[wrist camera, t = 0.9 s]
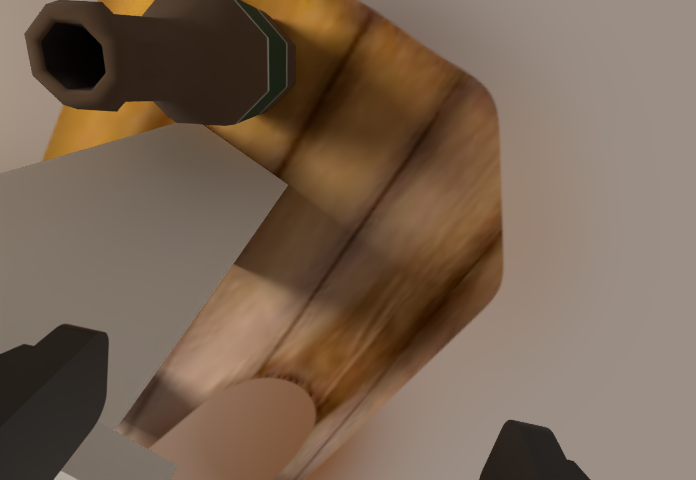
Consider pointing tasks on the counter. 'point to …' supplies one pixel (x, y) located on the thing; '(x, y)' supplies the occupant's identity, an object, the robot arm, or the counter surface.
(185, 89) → the beer bottle
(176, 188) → the stand
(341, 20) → the counter surface
